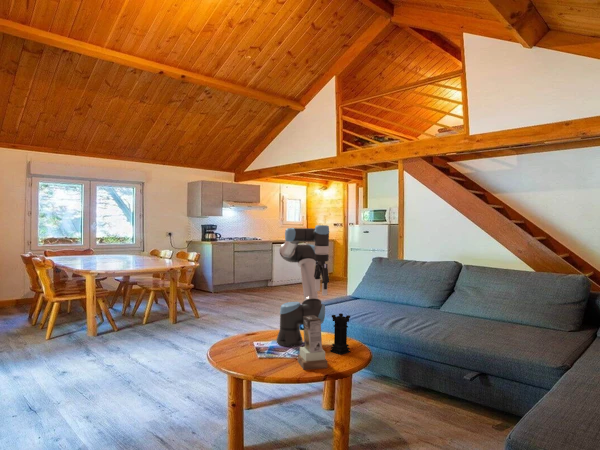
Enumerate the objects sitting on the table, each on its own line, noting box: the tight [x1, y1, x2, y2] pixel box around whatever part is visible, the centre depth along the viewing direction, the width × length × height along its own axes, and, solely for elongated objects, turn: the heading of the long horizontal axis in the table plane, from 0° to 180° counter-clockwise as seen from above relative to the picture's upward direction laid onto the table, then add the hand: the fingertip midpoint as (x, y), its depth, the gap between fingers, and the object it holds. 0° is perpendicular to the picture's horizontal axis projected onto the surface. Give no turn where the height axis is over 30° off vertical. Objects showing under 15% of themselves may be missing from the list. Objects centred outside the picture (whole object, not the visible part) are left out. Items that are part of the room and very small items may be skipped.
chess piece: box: [329, 312, 352, 356], centre depth 224 cm, size 8×8×20 cm
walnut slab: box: [297, 354, 328, 371], centre depth 204 cm, size 12×12×4 cm
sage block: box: [299, 346, 326, 361], centre depth 204 cm, size 10×10×4 cm
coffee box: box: [302, 315, 323, 353], centre depth 203 cm, size 9×6×16 cm
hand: (320, 293), depth 220 cm, fingers open, 13 cm apart
